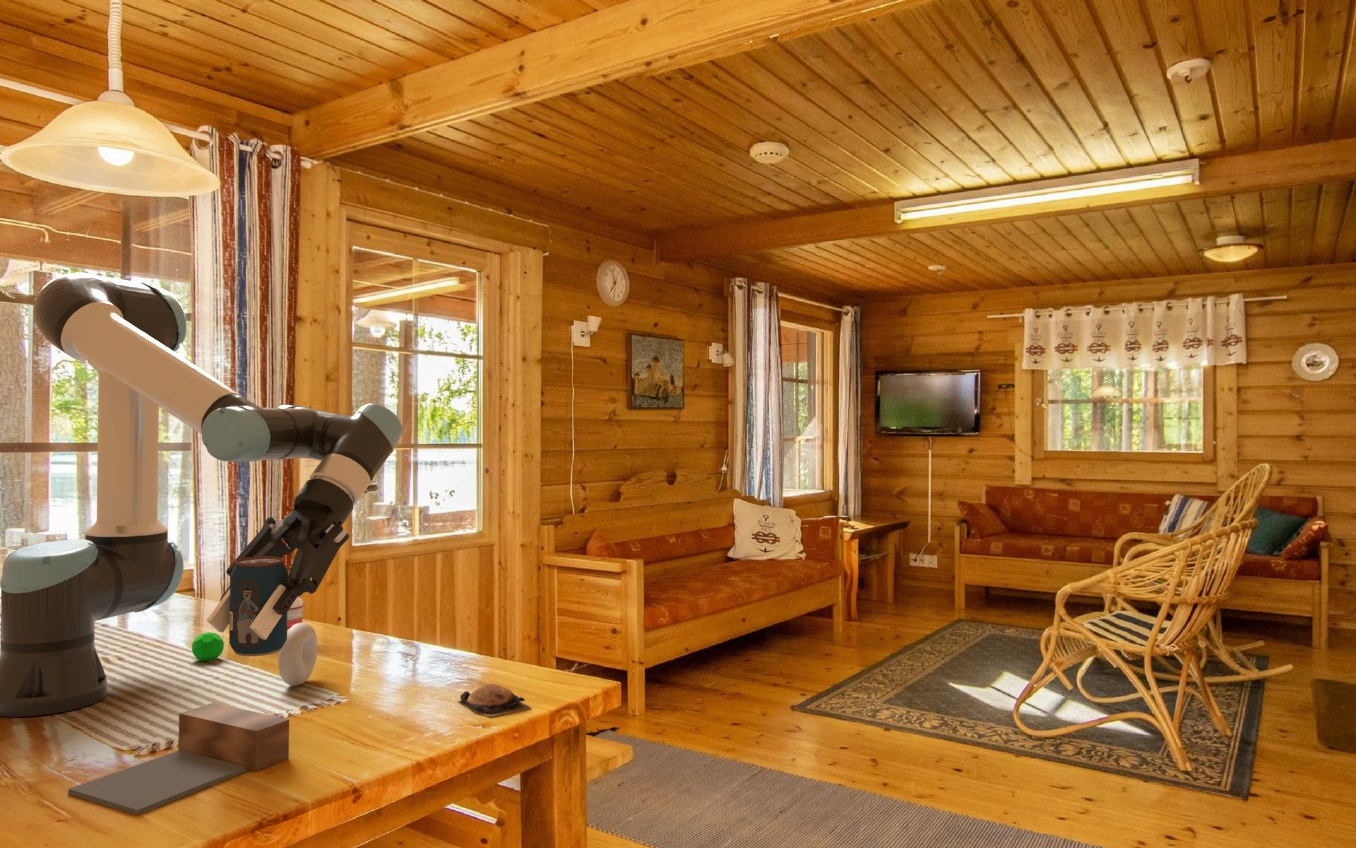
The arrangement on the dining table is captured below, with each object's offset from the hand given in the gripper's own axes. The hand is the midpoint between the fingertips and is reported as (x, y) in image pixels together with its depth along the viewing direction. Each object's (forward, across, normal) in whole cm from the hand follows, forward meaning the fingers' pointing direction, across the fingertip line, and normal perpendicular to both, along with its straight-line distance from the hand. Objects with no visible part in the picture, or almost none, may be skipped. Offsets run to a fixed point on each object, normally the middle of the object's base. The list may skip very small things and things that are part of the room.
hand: (236, 629), depth 118 cm
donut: (-7, +16, -30) cm, 35 cm away
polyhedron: (-9, +41, -33) cm, 54 cm away
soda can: (0, 0, -5) cm, 5 cm away
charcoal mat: (+19, 0, -4) cm, 19 cm away
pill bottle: (-19, +38, -43) cm, 60 cm away
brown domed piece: (-10, -18, -35) cm, 40 cm away
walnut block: (+12, 0, -11) cm, 16 cm away
